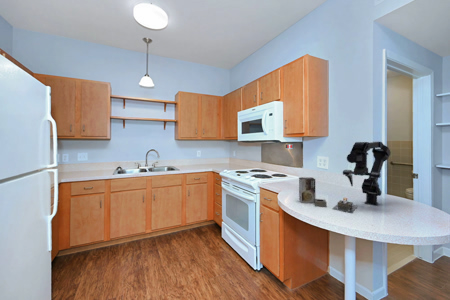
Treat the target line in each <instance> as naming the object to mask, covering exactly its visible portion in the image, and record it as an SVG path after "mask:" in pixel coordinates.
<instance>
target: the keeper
mask: <svg viewBox="0 0 450 300" xmlns="http://www.w3.org/2000/svg"><path fill="white" fill-rule="evenodd" d="M342 201H343V203H347V201H348V198H346V197H343V200H342ZM357 209H358V206H357V205H353V207H352V208H351V210H348V209H343V208H338V203H337V204H336V205H334V206H333V208H332V210H334V211H335V210H336V211H340V212H343V213H350V214H353V213H354V212H355V211H356V210H357Z"/></svg>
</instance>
